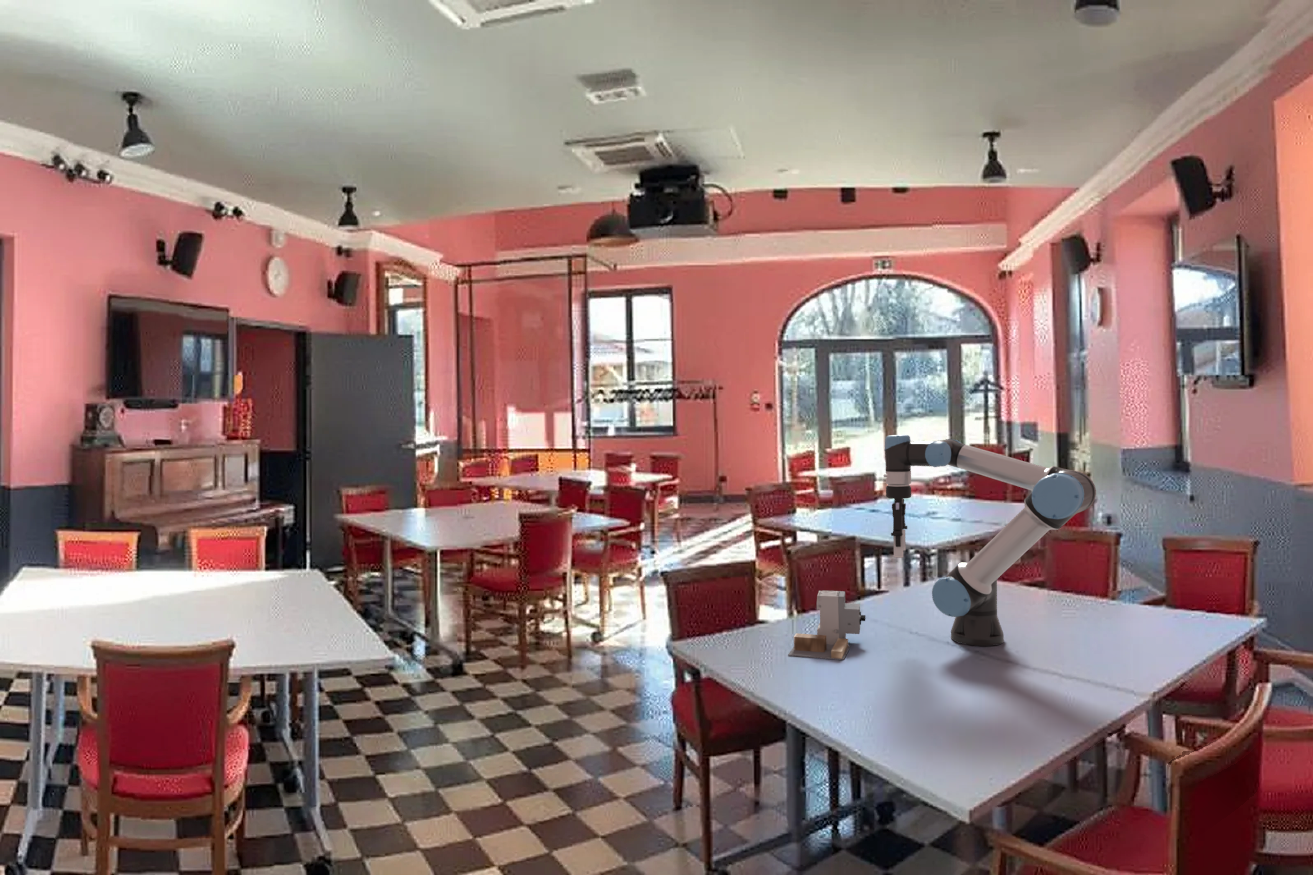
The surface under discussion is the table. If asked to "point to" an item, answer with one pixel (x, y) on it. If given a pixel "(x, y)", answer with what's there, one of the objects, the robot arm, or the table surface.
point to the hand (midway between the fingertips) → (899, 553)
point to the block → (810, 642)
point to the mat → (817, 653)
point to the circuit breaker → (837, 616)
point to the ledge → (839, 648)
